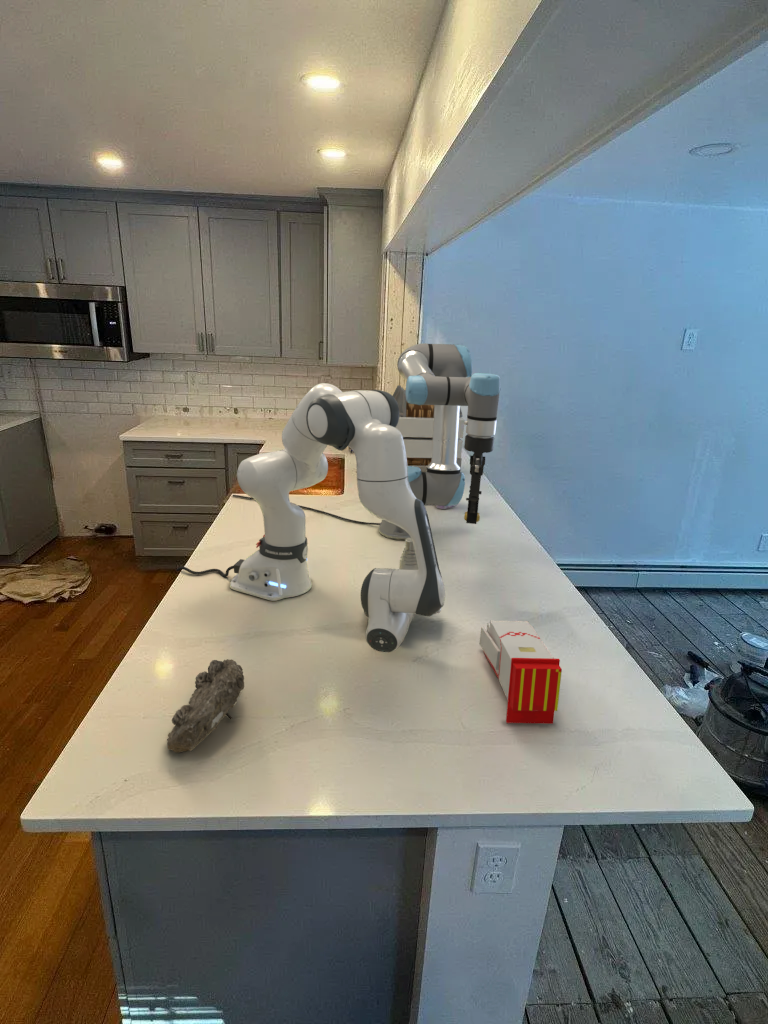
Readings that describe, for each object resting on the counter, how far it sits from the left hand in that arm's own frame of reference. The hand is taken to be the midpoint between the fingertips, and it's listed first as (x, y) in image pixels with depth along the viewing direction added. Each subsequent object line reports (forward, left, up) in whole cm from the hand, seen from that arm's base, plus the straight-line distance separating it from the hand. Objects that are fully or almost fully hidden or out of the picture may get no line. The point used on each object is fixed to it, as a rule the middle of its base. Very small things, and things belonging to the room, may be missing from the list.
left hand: (408, 582), depth 151 cm
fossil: (-27, -55, -6) cm, 62 cm away
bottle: (0, -1, -6) cm, 6 cm away
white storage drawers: (-21, +128, -6) cm, 130 cm away
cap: (+14, +12, +17) cm, 25 cm away
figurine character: (-63, +159, -6) cm, 171 cm away
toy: (+29, -26, -6) cm, 39 cm away
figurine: (-2, +84, -6) cm, 84 cm away
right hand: (+14, +12, +15) cm, 24 cm away
